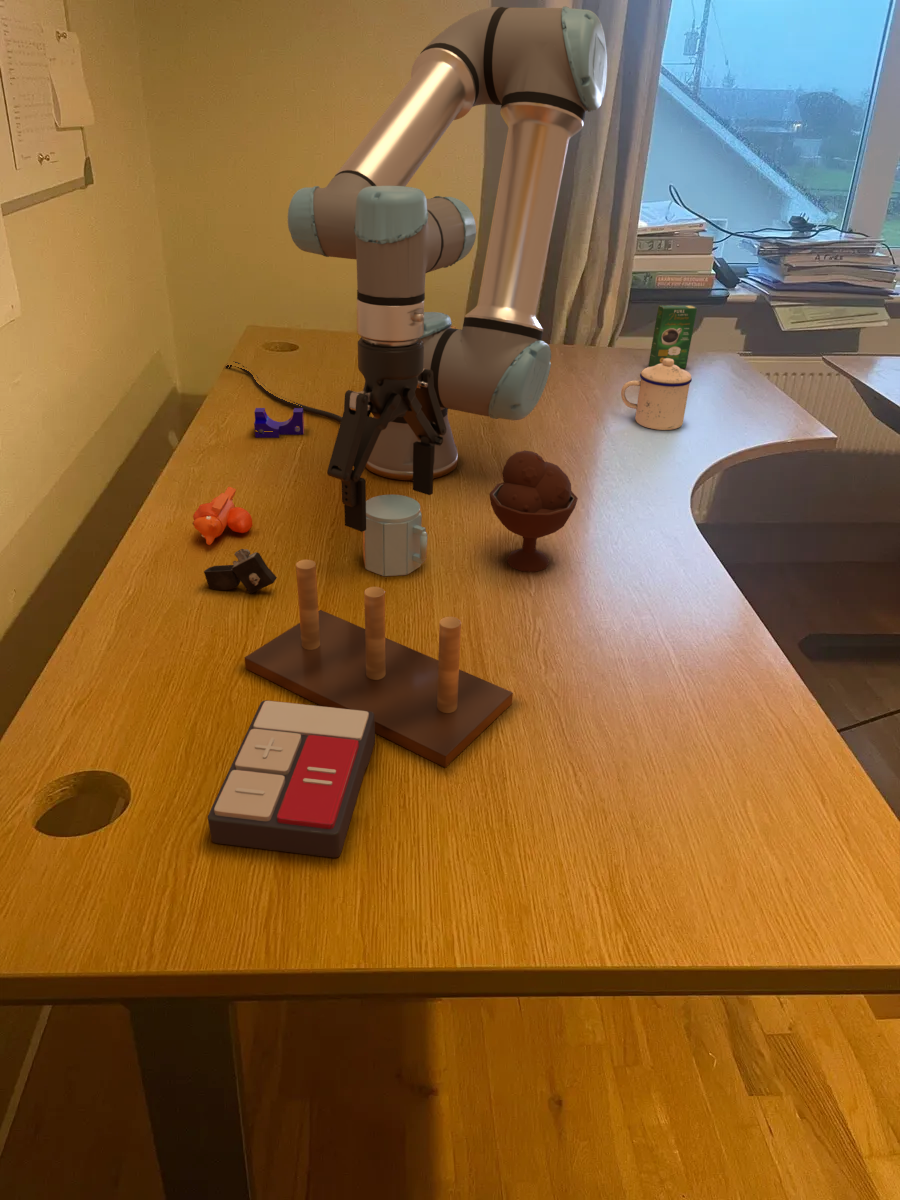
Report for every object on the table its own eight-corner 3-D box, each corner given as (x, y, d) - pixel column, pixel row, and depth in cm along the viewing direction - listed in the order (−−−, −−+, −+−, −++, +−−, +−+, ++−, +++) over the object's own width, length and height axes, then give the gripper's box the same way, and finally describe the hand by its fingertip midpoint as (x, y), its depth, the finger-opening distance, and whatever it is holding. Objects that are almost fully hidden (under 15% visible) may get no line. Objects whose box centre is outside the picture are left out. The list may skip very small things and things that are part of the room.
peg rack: (245, 668, 95) (234, 575, 89) (320, 620, 103) (316, 532, 97) (445, 768, 82) (448, 667, 76) (512, 703, 91) (520, 608, 85)
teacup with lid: (682, 416, 167) (692, 354, 161) (685, 433, 159) (696, 368, 153) (617, 410, 168) (625, 349, 162) (617, 427, 160) (626, 363, 154)
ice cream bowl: (502, 587, 111) (510, 476, 103) (476, 546, 120) (482, 440, 112) (581, 578, 113) (595, 468, 106) (550, 538, 123) (560, 435, 115)
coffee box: (681, 365, 195) (692, 303, 188) (687, 369, 193) (698, 306, 186) (647, 366, 193) (656, 304, 186) (653, 370, 191) (662, 307, 184)
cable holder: (255, 437, 151) (253, 414, 149) (257, 430, 154) (255, 407, 152) (302, 437, 152) (301, 415, 150) (304, 430, 155) (302, 408, 153)
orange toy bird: (215, 473, 124) (188, 511, 113) (267, 492, 125) (245, 531, 114) (207, 504, 126) (181, 543, 116) (258, 522, 127) (236, 562, 117)
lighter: (221, 609, 109) (195, 576, 107) (228, 601, 111) (202, 568, 109) (271, 585, 106) (245, 550, 104) (277, 577, 107) (252, 542, 105)
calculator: (204, 812, 72) (260, 692, 84) (211, 848, 74) (265, 726, 86) (337, 828, 71) (375, 704, 83) (340, 864, 73) (376, 738, 85)
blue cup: (352, 564, 115) (351, 508, 110) (387, 543, 120) (386, 489, 116) (408, 586, 110) (409, 528, 106) (442, 564, 115) (443, 508, 111)
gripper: (344, 368, 90) (348, 554, 100) (478, 323, 108) (470, 485, 118) (289, 354, 93) (299, 535, 104) (428, 313, 111) (424, 471, 122)
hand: (390, 509), depth 111 cm, fingers open, 13 cm apart
